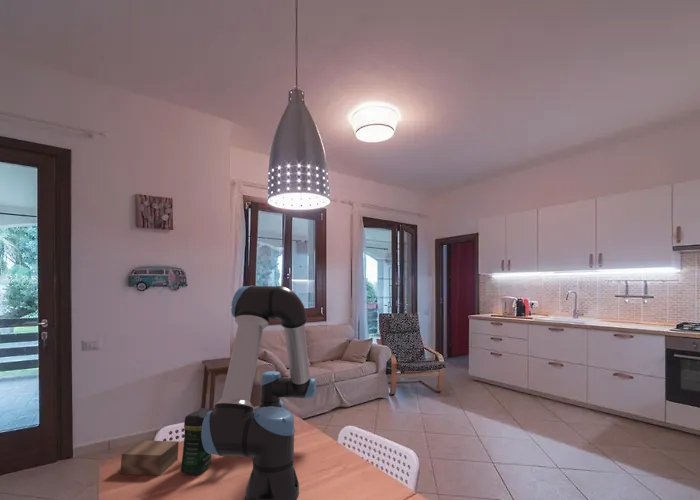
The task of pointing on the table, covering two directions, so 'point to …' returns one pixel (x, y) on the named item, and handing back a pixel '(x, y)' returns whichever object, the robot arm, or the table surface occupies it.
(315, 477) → the table surface
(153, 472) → the block
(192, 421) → the green supplement bottle
